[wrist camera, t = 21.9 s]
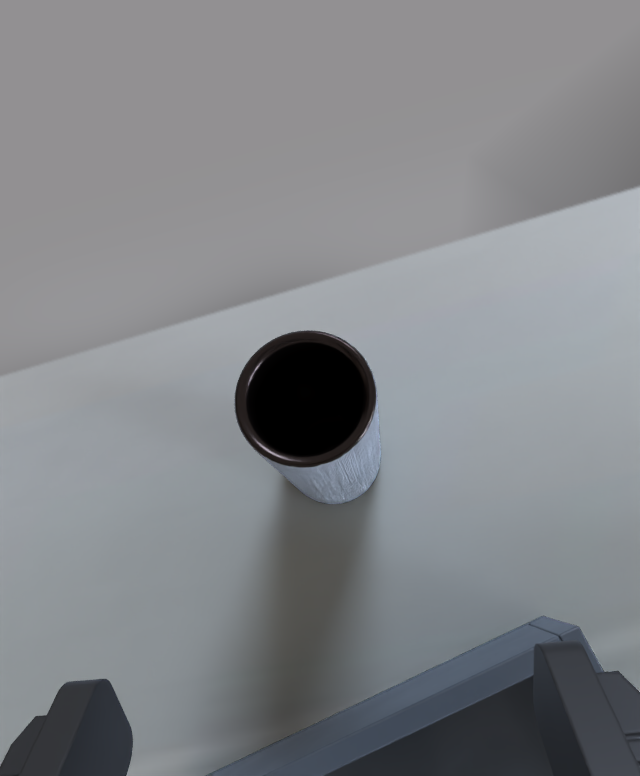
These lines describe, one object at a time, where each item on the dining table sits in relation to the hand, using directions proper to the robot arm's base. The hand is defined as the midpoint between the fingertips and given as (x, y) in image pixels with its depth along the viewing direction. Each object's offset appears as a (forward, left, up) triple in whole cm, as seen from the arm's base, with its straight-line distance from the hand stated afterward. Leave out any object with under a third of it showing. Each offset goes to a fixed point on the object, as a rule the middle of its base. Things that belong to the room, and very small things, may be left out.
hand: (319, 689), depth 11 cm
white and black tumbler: (-2, -7, -16) cm, 17 cm away
